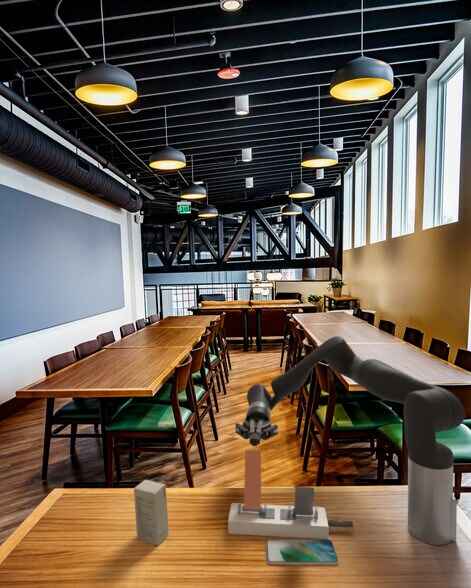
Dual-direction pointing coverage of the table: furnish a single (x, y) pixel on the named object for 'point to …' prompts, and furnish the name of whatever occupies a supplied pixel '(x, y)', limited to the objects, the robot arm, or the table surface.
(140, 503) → the skincare box
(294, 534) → the power strip
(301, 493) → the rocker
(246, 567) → the table surface
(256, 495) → the bar
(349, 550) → the table surface
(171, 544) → the table surface
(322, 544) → the smartphone
